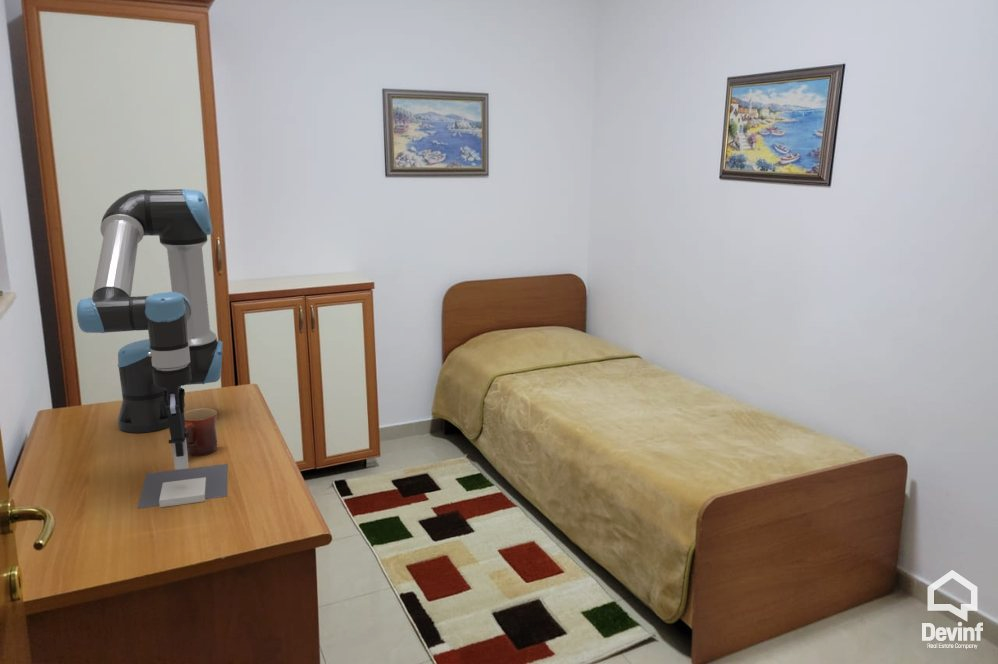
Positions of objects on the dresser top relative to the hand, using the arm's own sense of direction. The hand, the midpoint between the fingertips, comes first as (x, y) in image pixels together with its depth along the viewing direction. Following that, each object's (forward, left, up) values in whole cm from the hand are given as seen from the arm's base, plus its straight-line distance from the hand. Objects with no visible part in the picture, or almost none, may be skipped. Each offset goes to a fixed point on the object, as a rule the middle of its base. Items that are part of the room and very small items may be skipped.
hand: (181, 467), depth 161 cm
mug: (-22, +2, -7) cm, 23 cm away
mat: (-4, 0, -6) cm, 8 cm away
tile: (-3, 0, -5) cm, 6 cm away
